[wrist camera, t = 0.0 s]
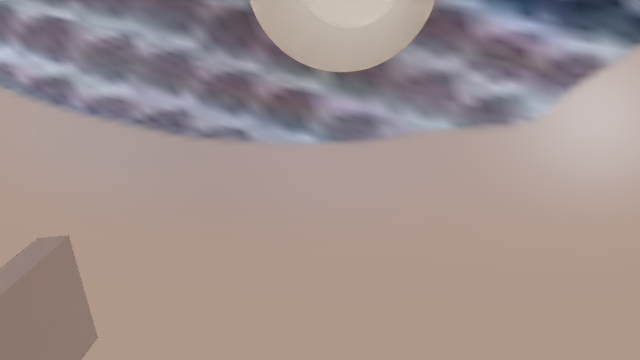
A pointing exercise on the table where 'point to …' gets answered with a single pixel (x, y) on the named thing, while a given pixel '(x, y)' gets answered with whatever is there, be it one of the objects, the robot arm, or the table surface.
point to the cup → (342, 29)
